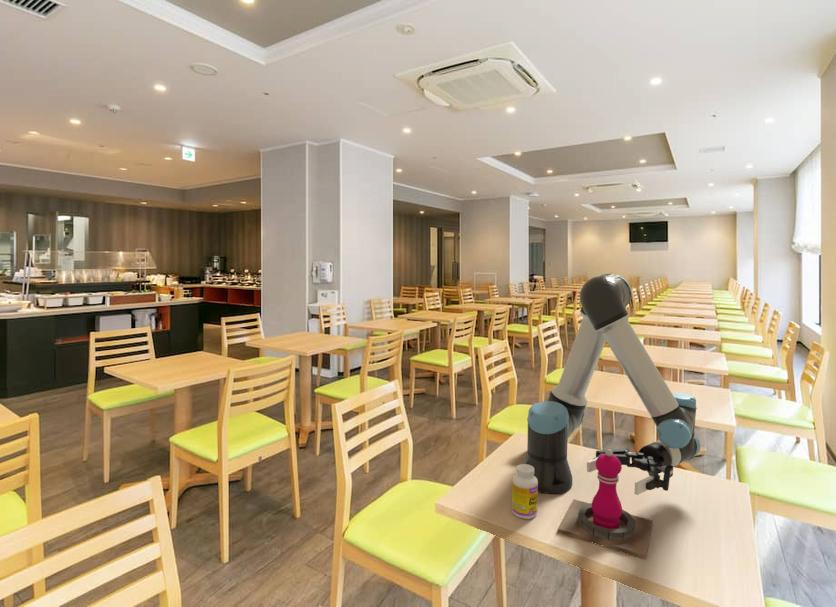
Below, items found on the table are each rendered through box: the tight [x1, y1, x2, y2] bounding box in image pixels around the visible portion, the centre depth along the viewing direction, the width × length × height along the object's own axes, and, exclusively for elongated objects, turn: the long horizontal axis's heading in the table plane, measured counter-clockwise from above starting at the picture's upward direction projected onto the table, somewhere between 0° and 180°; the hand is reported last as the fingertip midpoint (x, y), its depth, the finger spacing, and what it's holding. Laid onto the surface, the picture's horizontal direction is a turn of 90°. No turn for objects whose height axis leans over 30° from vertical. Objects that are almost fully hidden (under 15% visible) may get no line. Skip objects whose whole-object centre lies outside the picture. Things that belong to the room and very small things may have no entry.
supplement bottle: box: [511, 463, 538, 520], centre depth 126 cm, size 7×7×13 cm
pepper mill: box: [591, 448, 623, 529], centre depth 118 cm, size 7×7×20 cm
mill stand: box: [557, 498, 654, 560], centre depth 119 cm, size 20×16×3 cm
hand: (610, 477), depth 118 cm, fingers open, 13 cm apart
